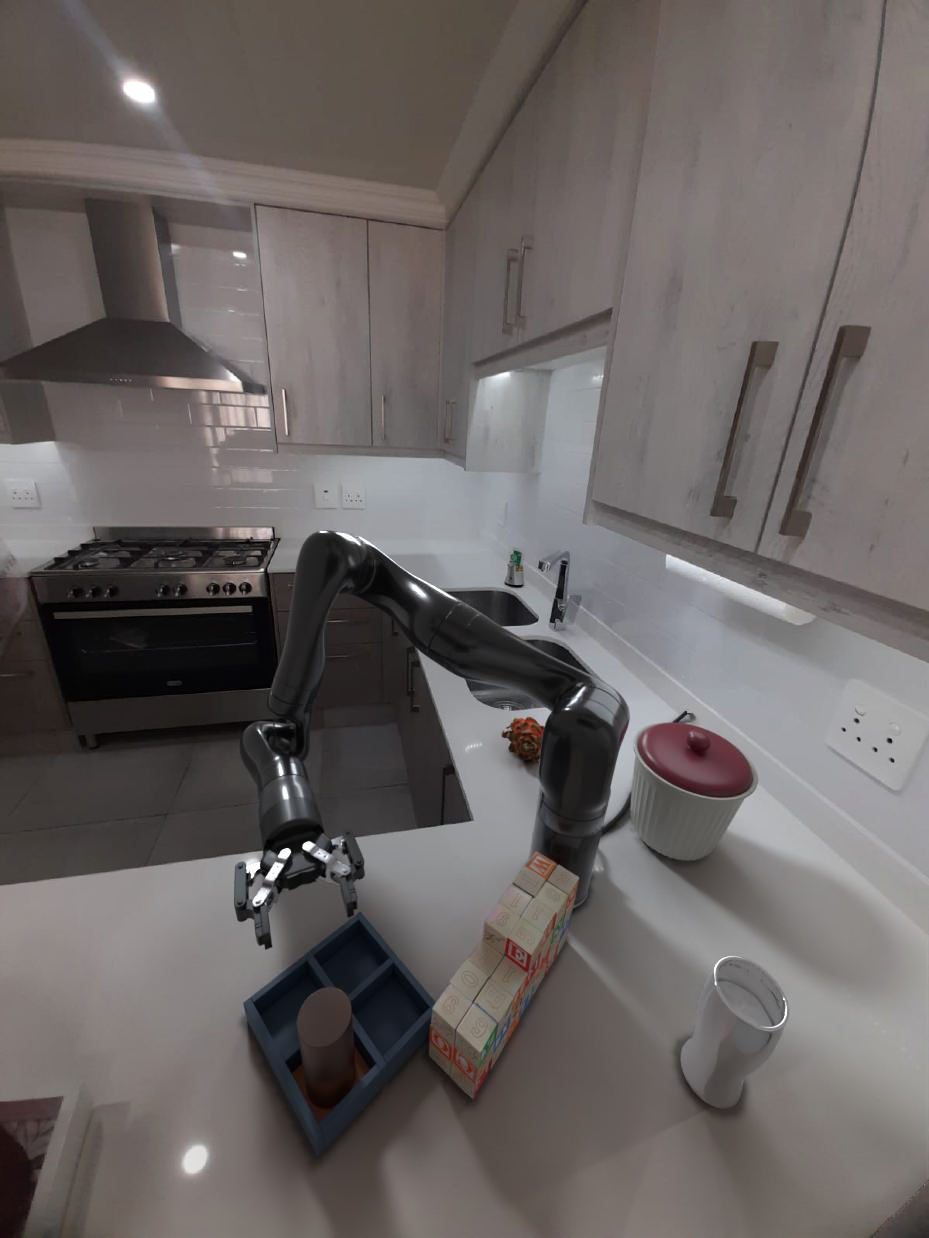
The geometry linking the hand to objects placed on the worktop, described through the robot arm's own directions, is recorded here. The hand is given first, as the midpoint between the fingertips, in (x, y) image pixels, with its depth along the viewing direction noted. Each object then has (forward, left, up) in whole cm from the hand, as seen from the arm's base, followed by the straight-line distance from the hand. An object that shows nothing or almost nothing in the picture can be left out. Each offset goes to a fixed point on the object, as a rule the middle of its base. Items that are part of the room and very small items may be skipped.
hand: (310, 927), depth 52 cm
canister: (-56, +18, -14) cm, 60 cm away
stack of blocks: (-17, +15, -14) cm, 26 cm away
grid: (-1, +4, -13) cm, 14 cm away
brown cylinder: (+3, +7, -13) cm, 15 cm away
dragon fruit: (-54, -12, -14) cm, 57 cm away
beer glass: (-27, +35, -14) cm, 46 cm away
